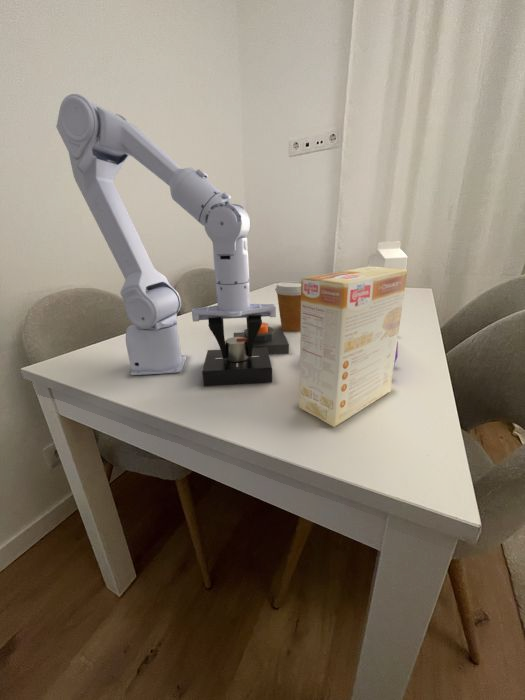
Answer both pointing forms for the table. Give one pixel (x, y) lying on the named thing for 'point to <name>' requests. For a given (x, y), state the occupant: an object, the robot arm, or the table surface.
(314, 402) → the coffeecake box
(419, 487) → the table surface
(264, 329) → the button
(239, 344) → the knob
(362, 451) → the table surface
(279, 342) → the button block
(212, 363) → the dial panel
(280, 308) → the disposable coffee cup
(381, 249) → the milk
